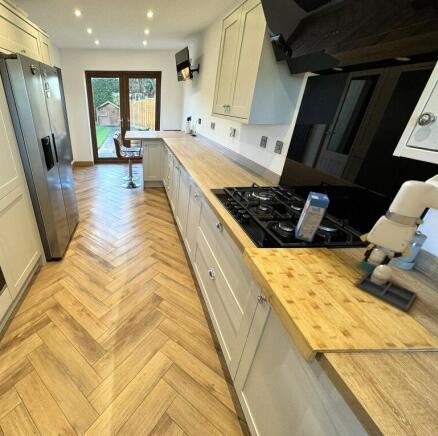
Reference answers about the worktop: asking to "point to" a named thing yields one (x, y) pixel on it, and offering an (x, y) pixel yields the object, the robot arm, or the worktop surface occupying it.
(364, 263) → the egg cup
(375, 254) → the egg
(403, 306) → the egg tray
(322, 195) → the milk carton
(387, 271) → the egg
